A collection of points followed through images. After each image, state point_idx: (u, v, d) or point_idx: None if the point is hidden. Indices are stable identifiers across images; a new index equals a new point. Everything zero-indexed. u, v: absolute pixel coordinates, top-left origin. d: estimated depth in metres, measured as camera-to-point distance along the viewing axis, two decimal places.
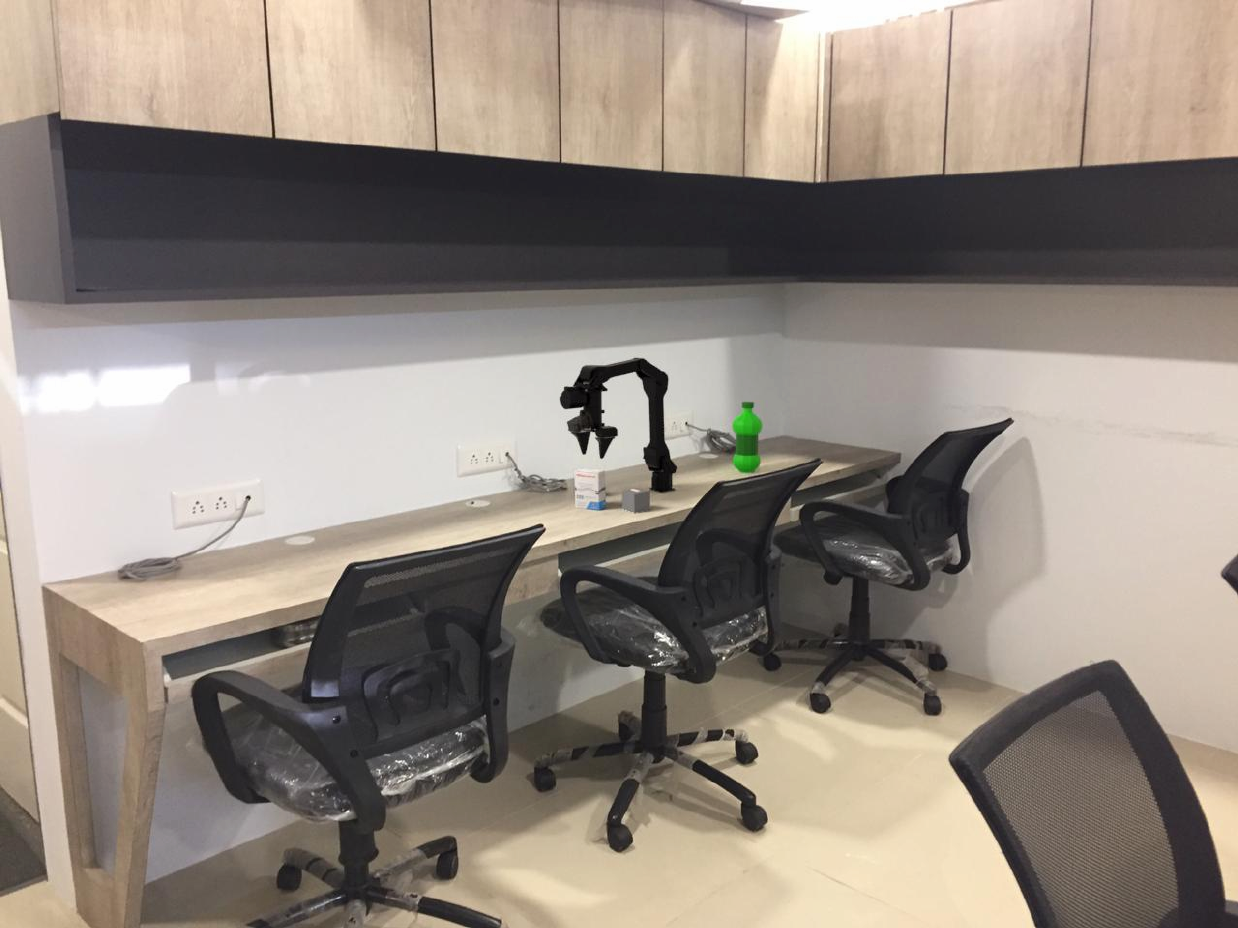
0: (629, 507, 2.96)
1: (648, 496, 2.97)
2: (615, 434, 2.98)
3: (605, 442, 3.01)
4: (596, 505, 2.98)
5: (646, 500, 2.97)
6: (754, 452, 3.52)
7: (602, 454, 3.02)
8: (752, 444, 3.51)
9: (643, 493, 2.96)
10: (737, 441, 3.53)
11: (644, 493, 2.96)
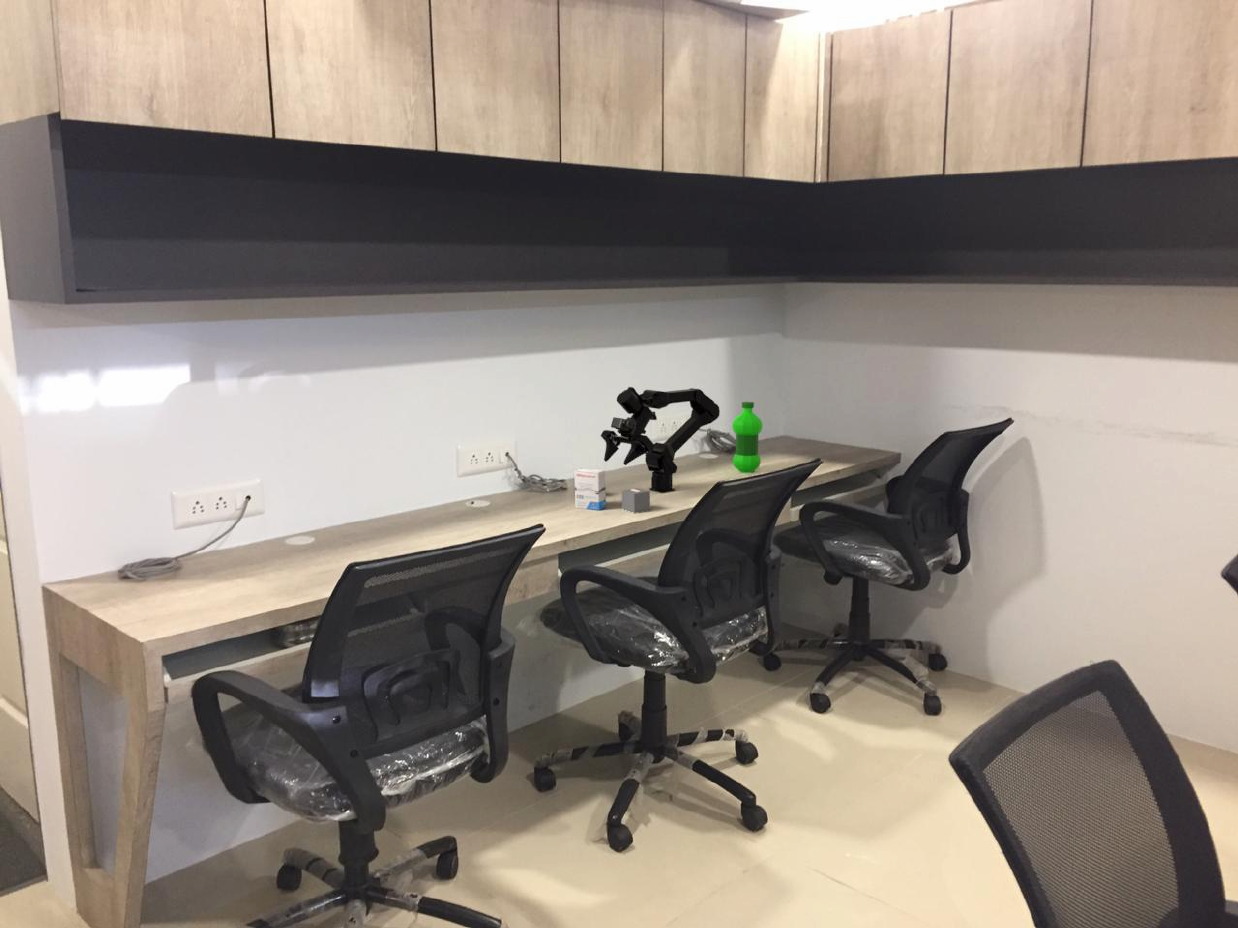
0: (629, 507, 2.96)
1: (648, 496, 2.97)
2: (651, 448, 3.06)
3: (635, 452, 3.07)
4: (596, 505, 2.98)
5: (646, 500, 2.97)
6: (754, 452, 3.52)
7: (627, 460, 3.06)
8: (752, 444, 3.51)
9: (643, 493, 2.96)
10: (737, 441, 3.53)
11: (644, 493, 2.96)
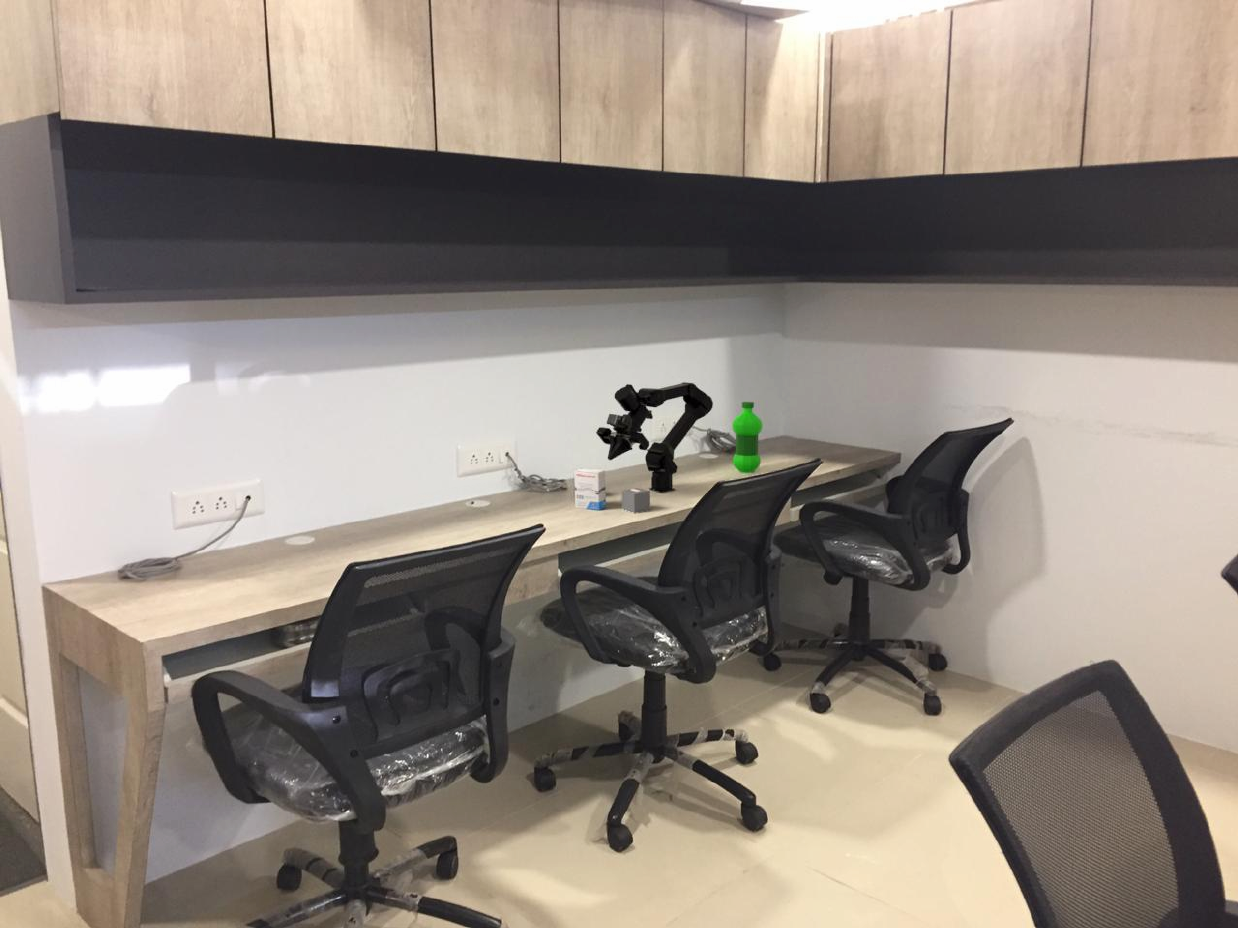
0: (629, 507, 2.96)
1: (648, 496, 2.97)
2: (646, 446, 3.04)
3: (621, 448, 3.07)
4: (596, 505, 2.98)
5: (646, 500, 2.97)
6: (754, 452, 3.52)
7: (613, 455, 3.06)
8: (752, 444, 3.51)
9: (643, 493, 2.96)
10: (737, 441, 3.53)
11: (644, 493, 2.96)
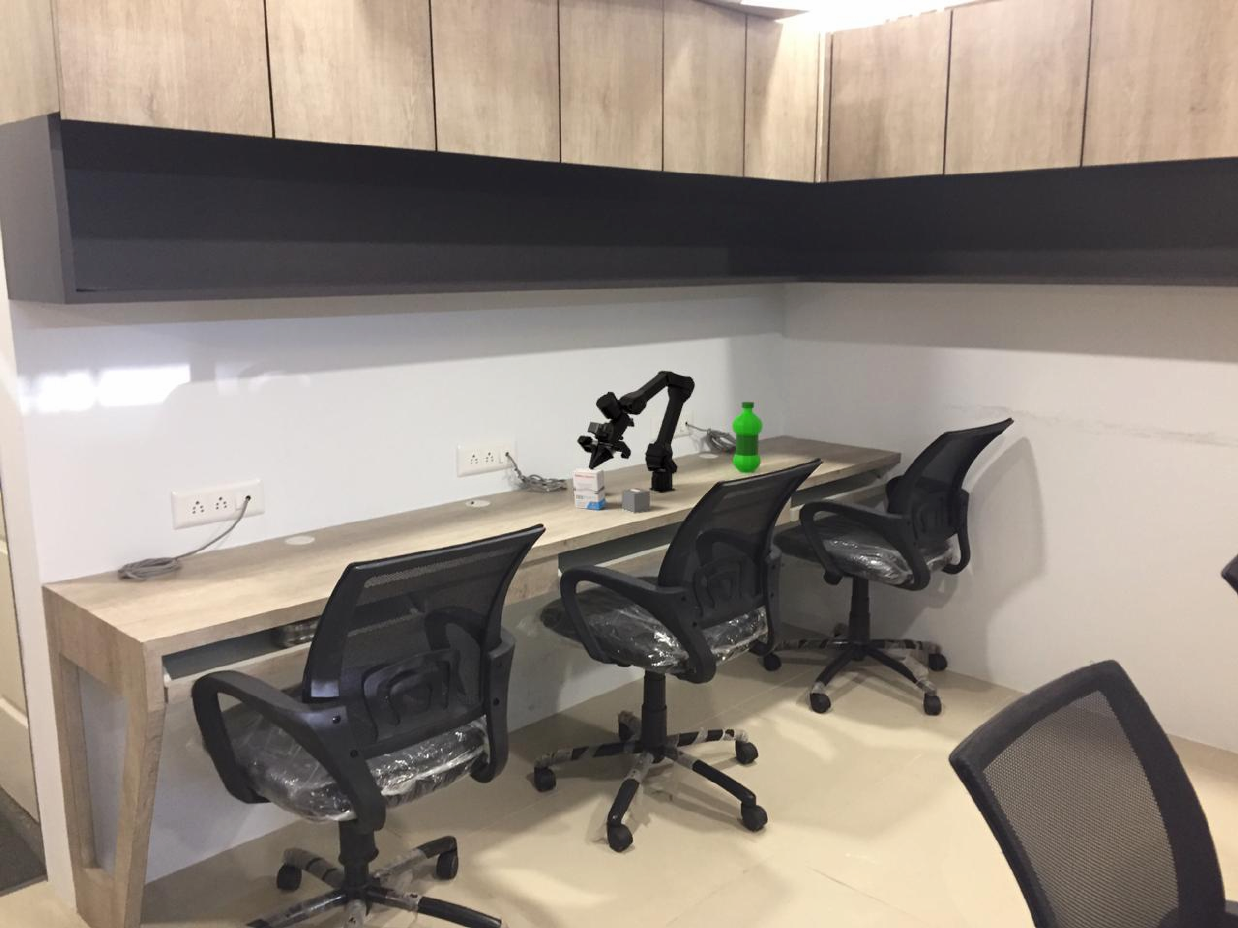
0: (629, 507, 2.96)
1: (648, 496, 2.97)
2: (628, 455, 2.97)
3: (602, 456, 3.01)
4: (596, 505, 2.98)
5: (646, 500, 2.97)
6: (754, 452, 3.52)
7: (594, 464, 3.00)
8: (752, 444, 3.51)
9: (643, 493, 2.96)
10: (737, 441, 3.53)
11: (644, 493, 2.96)
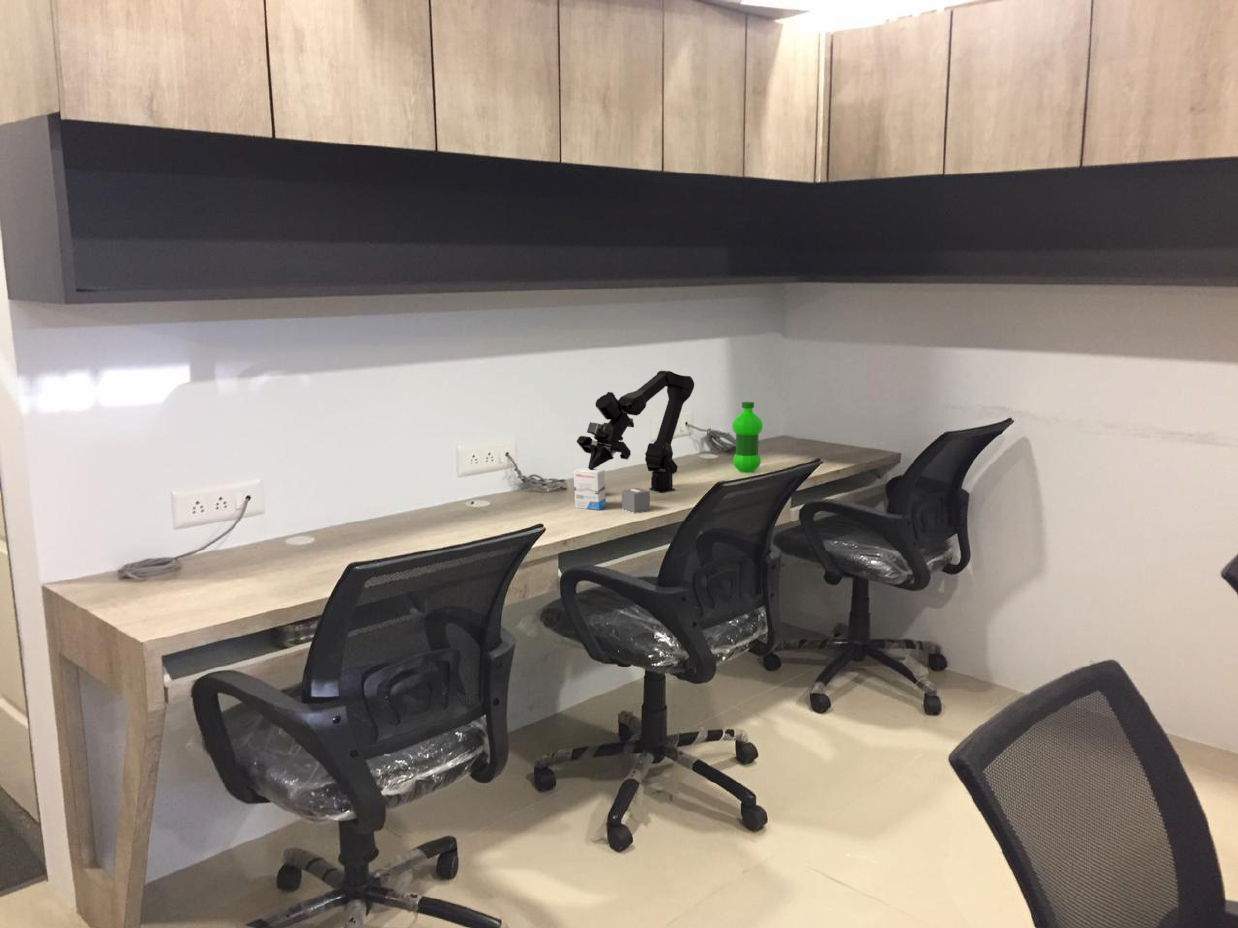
0: (629, 507, 2.96)
1: (648, 496, 2.97)
2: (627, 455, 2.97)
3: (602, 457, 3.01)
4: (596, 505, 2.98)
5: (646, 500, 2.97)
6: (754, 452, 3.52)
7: (593, 465, 2.99)
8: (752, 444, 3.51)
9: (643, 493, 2.96)
10: (737, 441, 3.53)
11: (644, 493, 2.96)
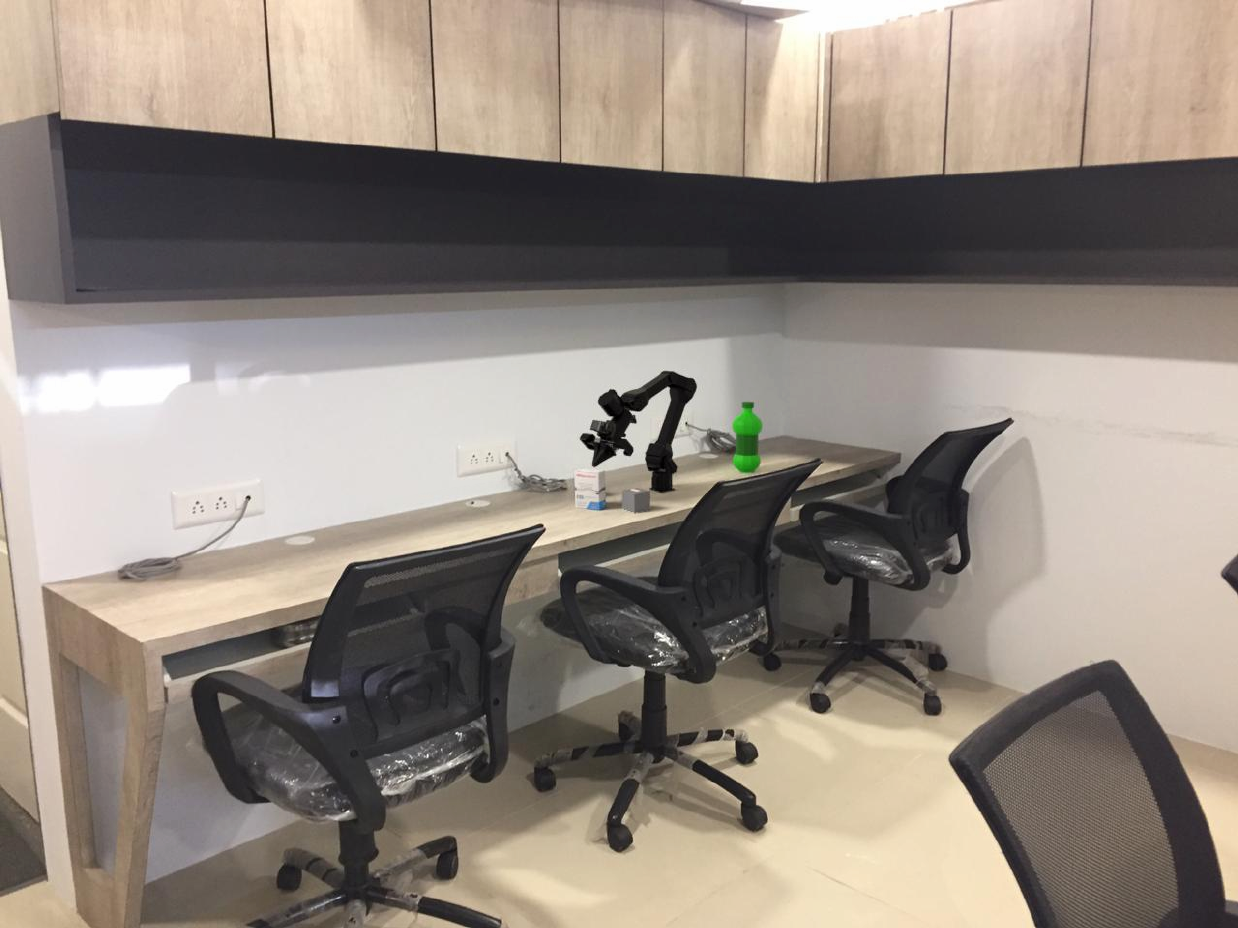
0: (629, 507, 2.96)
1: (648, 496, 2.97)
2: (630, 452, 2.98)
3: (605, 454, 3.02)
4: (596, 505, 2.98)
5: (646, 500, 2.97)
6: (754, 452, 3.52)
7: (597, 462, 3.00)
8: (752, 444, 3.51)
9: (643, 493, 2.96)
10: (737, 441, 3.53)
11: (644, 493, 2.96)
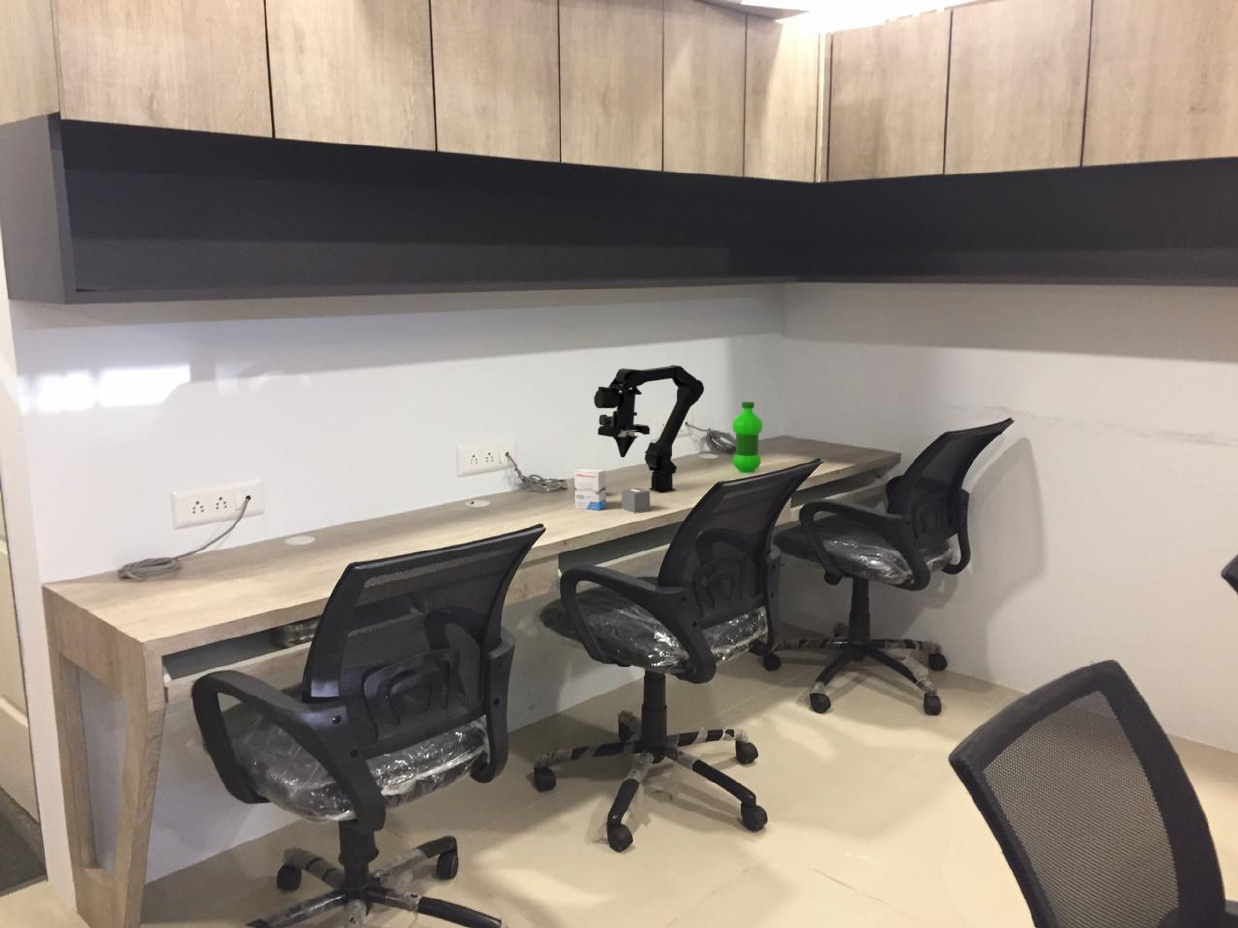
0: (629, 507, 2.96)
1: (648, 496, 2.97)
2: (607, 434, 3.06)
3: (621, 441, 3.13)
4: (596, 505, 2.98)
5: (646, 500, 2.97)
6: (754, 452, 3.52)
7: (620, 452, 3.15)
8: (752, 444, 3.51)
9: (643, 493, 2.96)
10: (737, 441, 3.53)
11: (644, 493, 2.96)
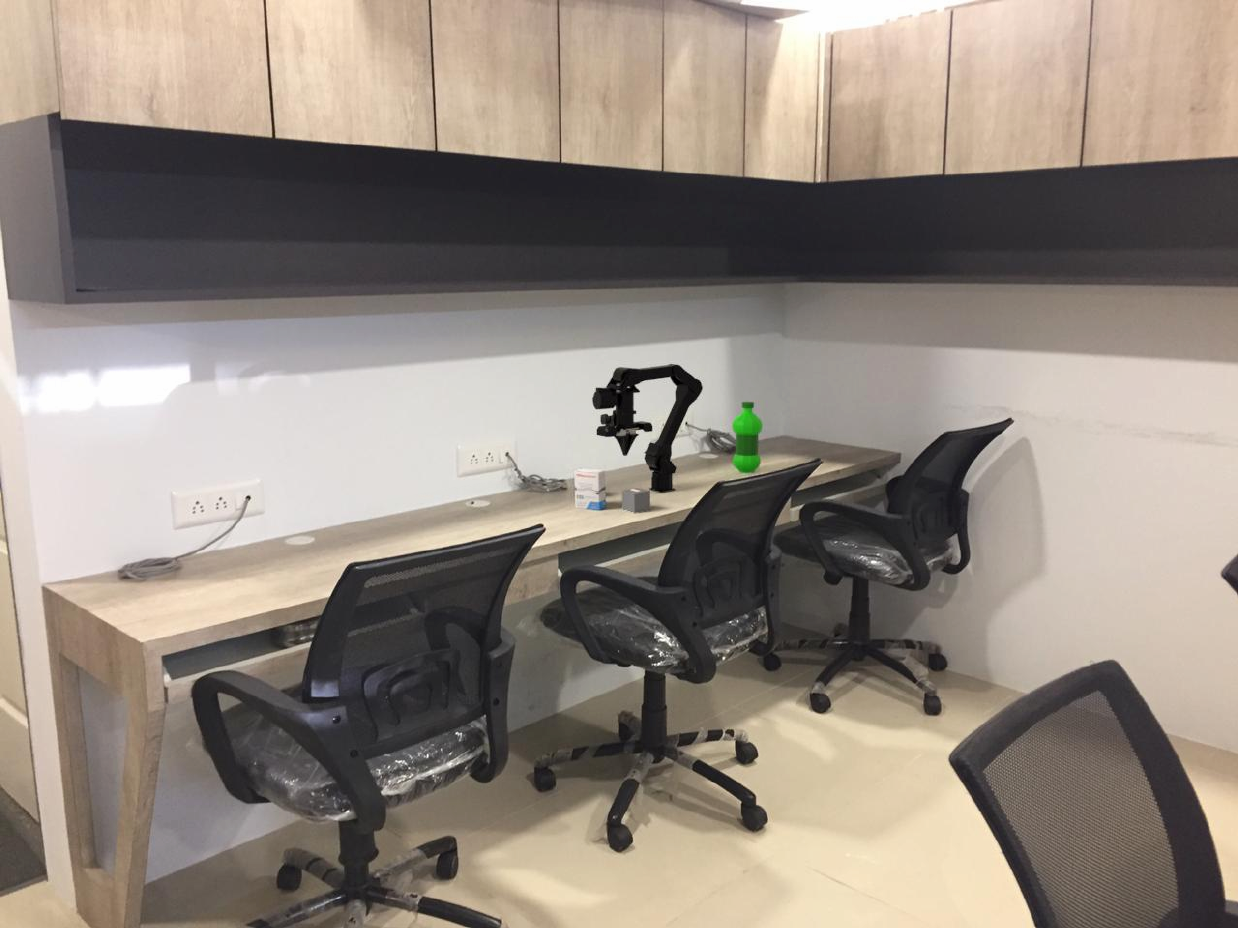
0: (629, 507, 2.96)
1: (648, 496, 2.97)
2: (604, 434, 3.08)
3: (622, 440, 3.14)
4: (596, 505, 2.98)
5: (646, 500, 2.97)
6: (754, 452, 3.52)
7: (622, 451, 3.16)
8: (752, 444, 3.51)
9: (643, 493, 2.96)
10: (737, 441, 3.53)
11: (644, 493, 2.96)
